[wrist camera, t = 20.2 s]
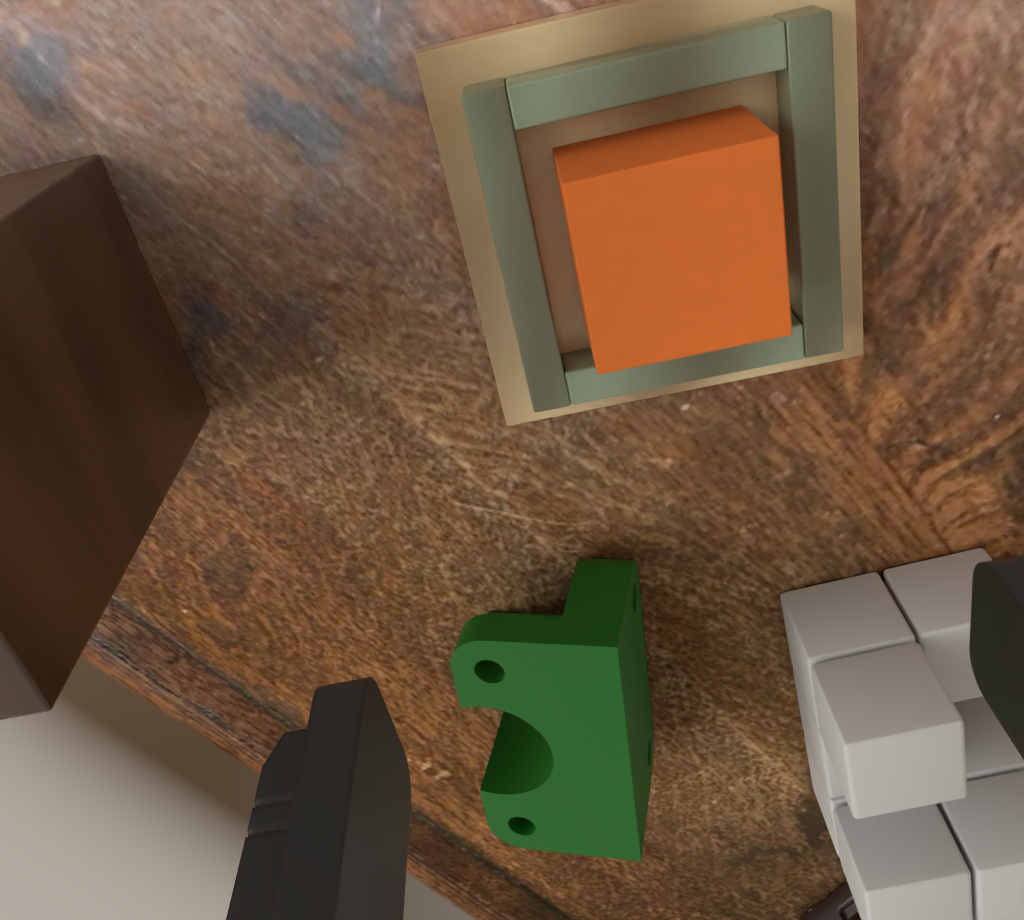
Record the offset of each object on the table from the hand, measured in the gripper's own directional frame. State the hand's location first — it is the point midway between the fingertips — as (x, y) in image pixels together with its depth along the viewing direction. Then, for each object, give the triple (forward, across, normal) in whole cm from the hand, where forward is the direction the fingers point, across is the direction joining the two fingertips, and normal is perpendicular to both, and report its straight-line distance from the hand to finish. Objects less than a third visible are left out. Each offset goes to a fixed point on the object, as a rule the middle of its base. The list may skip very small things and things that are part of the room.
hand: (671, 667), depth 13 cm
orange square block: (+18, -3, 0) cm, 19 cm away
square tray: (+20, -3, 0) cm, 20 cm away
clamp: (+20, +3, +18) cm, 27 cm away
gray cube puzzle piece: (+20, -12, +22) cm, 32 cm away
